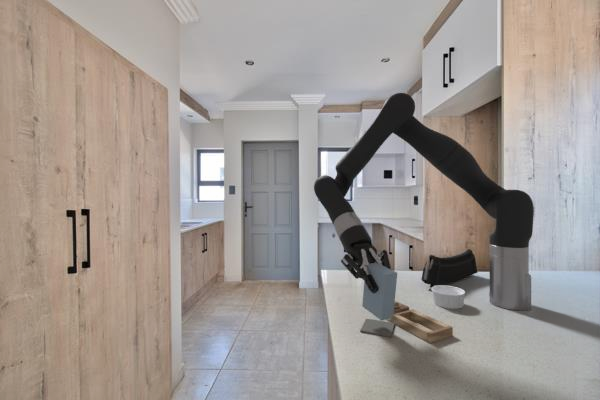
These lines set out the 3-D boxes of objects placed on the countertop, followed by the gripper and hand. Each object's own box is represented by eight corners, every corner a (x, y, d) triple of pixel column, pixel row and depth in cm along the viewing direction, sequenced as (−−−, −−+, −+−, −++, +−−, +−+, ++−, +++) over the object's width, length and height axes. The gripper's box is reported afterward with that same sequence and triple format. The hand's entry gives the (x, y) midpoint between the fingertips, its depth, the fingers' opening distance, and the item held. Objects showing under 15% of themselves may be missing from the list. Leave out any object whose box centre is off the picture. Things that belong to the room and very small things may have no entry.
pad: (394, 324, 72) (394, 323, 72) (391, 337, 66) (391, 335, 66) (366, 320, 75) (366, 318, 75) (360, 331, 69) (360, 330, 69)
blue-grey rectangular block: (362, 306, 73) (365, 264, 71) (373, 303, 74) (376, 262, 73) (381, 320, 67) (385, 274, 65) (393, 317, 68) (397, 272, 67)
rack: (377, 314, 78) (376, 301, 78) (397, 309, 82) (397, 296, 82) (430, 343, 63) (430, 326, 63) (452, 335, 66) (452, 320, 66)
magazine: (472, 251, 117) (428, 235, 102) (480, 252, 115) (437, 236, 99) (465, 293, 115) (419, 284, 100) (474, 296, 112) (428, 287, 97)
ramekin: (460, 313, 79) (460, 297, 79) (427, 305, 85) (427, 290, 85) (468, 303, 86) (468, 289, 86) (436, 296, 92) (436, 283, 92)
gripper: (335, 225, 74) (366, 286, 63) (378, 222, 80) (413, 278, 69) (324, 243, 79) (351, 302, 68) (366, 239, 85) (396, 293, 74)
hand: (382, 289), depth 69 cm, fingers closed on blue-grey rectangular block, 3 cm apart
